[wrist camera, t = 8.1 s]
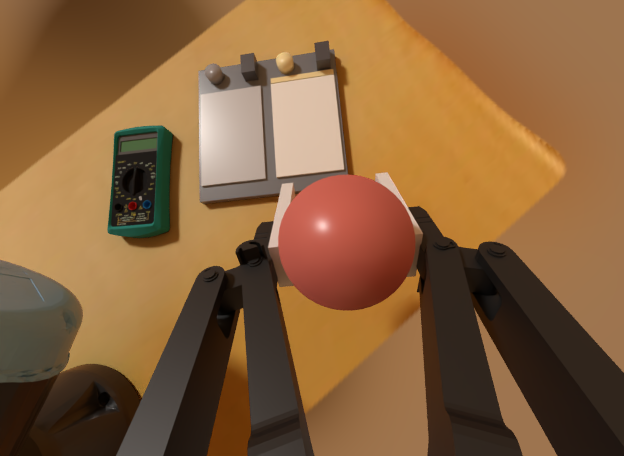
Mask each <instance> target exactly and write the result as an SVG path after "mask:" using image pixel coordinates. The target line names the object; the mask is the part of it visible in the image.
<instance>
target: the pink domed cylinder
mask: <svg viewBox="0 0 624 456" xmlns="http://www.w3.org/2000/svg"><path fill="white" fill-rule="evenodd" d="M278 248H279V255H280V259H281V263H282V265H283V268H284V270H285V272H286V274H287V276H288V278H289V279H290V281H291V282H292V283H293V285H294V286H295V287H296V288H297V289H298V290H299V291H300V292H301V293H302V294H303V295H305V296H306V297H307V298H309V299H310V300H312V301H314V302H315V303H317V304H320V305H322V306H324V307H328V308H332V309H337V310H358V309H364V308H367V307H371V306H373V305H375V304H378V303H380V302H381V301H383V300H385V299H386V298H388V297H389V296H390V295H391V294H393V293H394V292H395V291H396V290H397V289H398V288H399V287H400V285H401V284H402V283H403V281H404V280H405V278H406V277H407V275H408V273H409V271H410V269H411V266H412V263H413V259H414V254H415V232H414V228H413V224H412V221H411V218H410V216H409V214H408V212H407V210H406V208H405V207H404V205H403V204H402V202H401V201H400V200H399V199H398V197H397V196H396V195H395V194H394V193H392V192H391V191H390V190H389V189H388V188H386V187H385V186H383V185H382V184H380V183H378V182H376V181H374V180H372V179H369V178H366V177H362V176H357V175H336V176H330V177H327V178H323V179H321V180H318V181H316V182H314V183H312V184H311V185H309V186H307V187H306V188H305V189H303V190H302V191H301V192H300V193H299V194H298V195H297V196H296V197H295V198H294V199H293V200H292V202H291V203H290V204H289V206H288V208H287V209H286V211H285V213H284V216H283V218H282V221H281V224H280V228H279V235H278Z"/></svg>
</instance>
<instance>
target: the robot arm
mask: <svg viewBox="0 0 624 456" xmlns="http://www.w3.org/2000/svg"><path fill="white" fill-rule="evenodd" d="M375 181H376V182H378V183H380V184H382V185H383V186H385V187H386V188H388V189H389V190H390V191H391V192H392V193H394V194H395V195H396V196H397V197H398V199H399V200H400V201H401V202H402V204H403V205H404V207H405V208H406V210H407V212H408V214H409V216H410V218H411V221H412V224H413V228H414V232H415V254H414V259H413V263H412V266H411V269H410V271H409V273H408V275H407V277H411V276H416V270H417V269H418V272H419V274H420V279H419V284H418V289H417V292H420V308H421V323H422V338H423V354H424V371H425V386H426V402H427V418H428V433H429V444H428V456H522V452H521V449H520V446H519V443H518V441H517V439H516V437H515V435H514V433H513V432H512V431H511V430H510V429H508V427H506V425H505V423H504V422H503V419H502V416H501V412H500V408H499V404H498V401H497V396H496V392H495V388H494V385H493V381H492V377H491V373H490V369H489V365H488V361H487V357H486V353H485V349H484V345H483V342H482V338H481V334H480V330H479V326H478V322H477V318H476V315H475V310H476V312H477V314H478V315H479V317H480V319H481V321H482V323H483V324H484V326H485V328H486V329H487V331H488V333H489V335H490V337H491V338H492V340H493V342H494V344H495V345H496V347H497V349H498V351H499V353H500V354H501V356H502V358H503V360H504V361H505V363H506V365H507V367H508V369H509V370H510V372H511V374H512V376H513V377H514V379H515V381H516V383H517V385H518V386H519V388H520V390H521V392H522V393H523V395H524V397H525V399H526V401H527V402H528V404H529V406H530V408H531V409H532V411H533V413H534V414H535V416H536V418H537V420H538V422H539V423H540V425H541V427H542V429H543V431H544V432H545V434H546V436H547V437H548V440H549V441H550V443H551V445H552V447H553V448H554V450H555V452H556V454H557V455H558V456H624V373H623V372H622V371H621V369H620V368H619V367H618V366H617V365H616V364H615V363H614V362H613V361H612V359H611V358H610V357H609V356H608V355H607V354H606V353H605V352H604V351H603V350H602V348H601V347H600V346H599V345H598V344H597V343H596V342H595V341H594V340H593V339H592V338H591V336H590V335H589V334H588V333H587V332H586V331H585V330H584V329H583V328H582V326H581V325H580V324H579V323H578V322H577V321H576V320H575V319H574V318H573V317H572V315H571V314H570V313H569V312H568V311H567V310H566V309H565V308H564V306H562V304H561V303H560V302H559V301H558V300H557V299H556V298H555V297H554V295H553V294H552V293H551V292H550V291H549V290H548V289H547V288H546V287H545V286H544V285H543V283H542V282H541V281H540V280H539V279H538V278H537V277H536V276H535V275H534V273H533V272H532V271H531V270H530V269H529V268H528V267H527V266H526V265H525V263H524V262H523V261H522V260H521V259H520V258H519V257H518V256H517V255H516V253H515V252H514V251H513V250H511V249H510V248H509V247H508V246H506V245H503V244H500V243H497V242H484V243H482V244H480V245H479V248H478V249H470V248H463V247H458V245H457V244H456V242H454V241H453V240H452V239H449V238H447V237H444V236H443V235H442V233H441V232H440V231H439V229H438V228H437V226H436V225H435V223H434V222H433V220H432V219H431V218H430V216H429V214H428V213H427V211H425V210H424V209H422V208H421V207H419V206H418V207H407V205H406V203H405V202H404V200H403V198H402V197H401V195H400V193H399V191H398V190H397V188H396V186H395V185H394V183H393V181H392V179H391V178H390V176H389V174H388V173H387V172H386V173H377V174H376V179H375ZM295 197H296V196H295V190H294V185H293V183H285V184H282V186H281V191H280V195H279V200H278V205H277V209H276V214H275V218H274V221H272V222H262V223H261V224H260V225H259V226H258V228H257V230H256V233H255V234H256V235H255V237H254V240H249V241H246V242H244V243H242V244H241V245H239V246H238V248H237V249H236V255H237V258H238V260H239V263H240V266H238V267H236V268H233V269H230V270H227V271H224V269H223V268H222V267H220V266H213V267H209V268H207V269H205V270H203V271H202V272H201V273H199V275H198V276H197V278H196V280H195V282H194V284H193V287H192V289H191V291H190V293H189V296H188V298H187V300H186V302H185V304H184V307H183V309H182V311H181V313H180V316H179V318H178V320H177V322H176V324H175V327H174V329H173V331H172V333H171V335H170V338H169V340H168V342H167V344H166V347H165V349H164V351H163V353H162V355H161V358H160V360H159V362H158V364H157V366H156V369H155V371H154V373H153V375H152V378H151V380H150V382H149V384H148V386H147V389H146V391H145V393H144V395H143V398H142V400H141V402H140V400H139V398H138V395H137V393H136V391H135V390H134V388H133V387H132V385H131V384H130V383H129V381H128V380H127V379H126V378H125V377H124V376H123V375H121V374H120V373H119V372H117V371H116V370H114V369H112V368H110V367H107V366H103V365H98V364H85V365H80V366H77V367H74V368H71V369H69V370H66V371H63V372H61V371H62V370H63V369H64V368H65V367H66V365H67V363H68V360H69V355H70V353H69V351H70V348H71V346H72V344H73V341H74V339H75V337H76V335H77V332H78V330H79V328H80V325H81V322H82V318H83V311H82V307H81V304H80V302H79V301H78V299H77V298H76V296H75V295H74V294H73V293H72V292H71V291H69V290H68V289H67V288H66V287H64V286H63V285H61V284H60V283H58V282H56V281H54V280H53V279H51V278H49V277H46V276H44V275H42V274H40V273H37V272H35V271H32V270H30V269H27V268H24V267H22V266H19V265H15V264H12V263H9V262H6V261H2V260H0V456H207V452H208V447H209V443H210V438H211V434H212V430H213V425H214V421H215V417H216V412H217V408H218V404H219V399H220V395H221V391H222V386H223V382H224V378H225V373H226V369H227V365H228V360H229V356H230V352H231V347H232V343H233V339H234V334H235V330H236V326H237V321H238V317H239V313H240V309H241V308H243V309H244V325H245V340H246V355H247V370H248V386H249V401H250V416H251V436H250V438H249V441H248V456H314V453H313V449H312V445H311V441H310V436H309V432H308V427H307V422H306V418H305V413H304V409H303V404H302V400H301V395H300V390H299V386H298V381H297V377H296V372H295V367H294V363H293V358H292V354H291V349H290V344H289V340H288V335H287V331H286V326H285V321H284V317H283V312H282V308H281V303H280V299H279V294H278V290H277V282H278V283H279V287H284V286H294V285H293V283H292V282H291V281H290V279H289V278H288V276H287V274H286V272H285V270H284V268H283V265H282V263H281V259H280V255H279V248H278V235H279V228H280V224H281V221H282V218H283V216H284V213H285V211H286V209H287V208H288V206H289V204H290V203H291V202H292V200H293V199H294V198H295ZM474 308H475V310H474ZM60 372H61V373H60Z"/></svg>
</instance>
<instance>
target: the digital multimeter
mask: <svg viewBox="0 0 624 456" xmlns="http://www.w3.org/2000/svg"><path fill="white" fill-rule="evenodd" d="M172 137H173V135H172V133H171V132H170V131H169V130H167V129H166V128H165V127H163V126H142V127H134V128H129V129H124V130H120V131H117V132H116V133H115V134H114V155H113V172H112V187H111V198H110V210H109V221H108V233H109V234H113V235H118V236H125V237H133V238H147V237H152V236H156V235H159V234H162V233H165V232H168V231H169V229H170V219H169V185H170V162H171V150H172ZM156 163H157V167H156ZM155 188H156V191H155Z"/></svg>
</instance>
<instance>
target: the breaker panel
mask: <svg viewBox="0 0 624 456" xmlns="http://www.w3.org/2000/svg"><path fill="white" fill-rule="evenodd" d="M314 44H315V52H314V53H308V54H302V55H295V56H292V55H291V54H290V53H288V52H282V53H280V54H279V55H278V56H277V58H276V59H270V60H264V61H258V62H257V60H256V57H255V55H254V53H251V54H245V55H240V56H241V64H239V65H233V66H227V67H219V66H218V65H217V64H210V65H208V66H207V67H206V68H205V70H202V71H199V169H200V202H201V203H203V204H208V203H217V202H226V201H235V200H244V199H253V198H262V197H271V196H279V195H280V191H281V186H282V184H285V183H293V185H294V190H295V194H298V193H300V192H301V191H302V190H303V189H305V188H306V187H307V186H309V185H311V184H312V183H314V182H316V181H318V180H321V179H323V178H327V177H330V176H336V175H348V171H347V162H346V153H345V144H344V135H343V126H342V117H341V108H340V99H339V90H338V81H337V72H336V63H335V54H334V49H333V50H329V41H324V42H318V43H314Z"/></svg>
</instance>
